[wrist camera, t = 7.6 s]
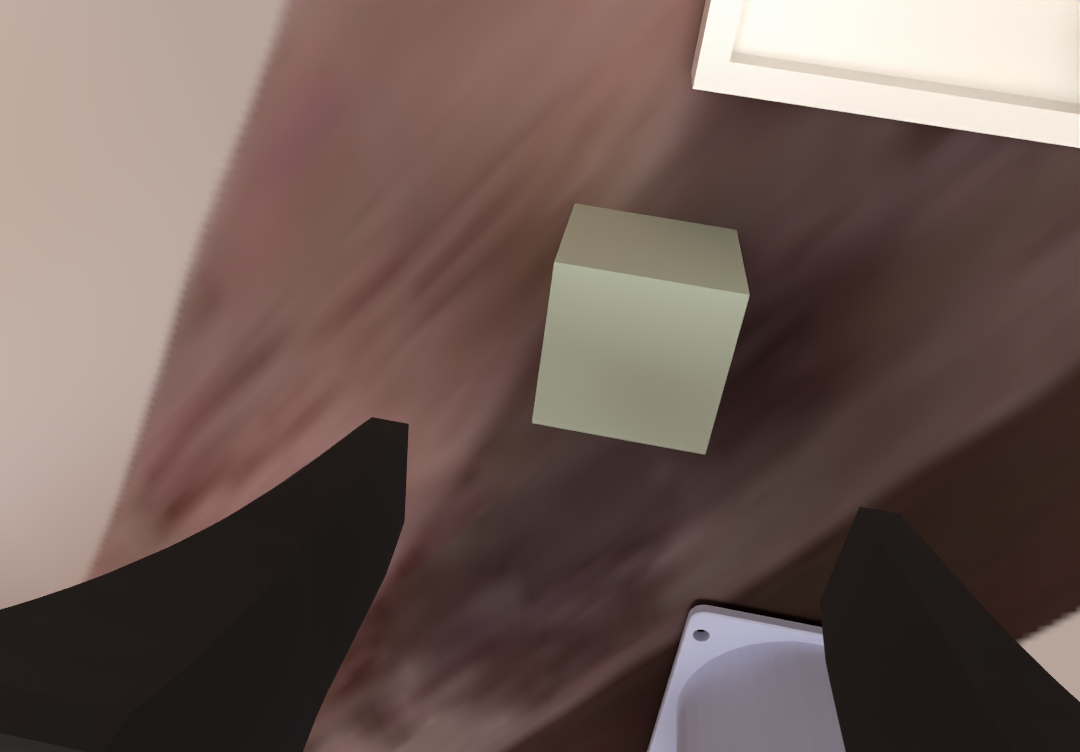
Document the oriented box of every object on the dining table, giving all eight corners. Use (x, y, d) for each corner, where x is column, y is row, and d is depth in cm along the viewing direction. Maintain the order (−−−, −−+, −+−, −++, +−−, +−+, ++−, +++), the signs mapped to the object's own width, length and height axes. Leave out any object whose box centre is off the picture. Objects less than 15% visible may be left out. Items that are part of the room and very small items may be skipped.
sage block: (700, 369, 22) (705, 455, 18) (553, 343, 22) (532, 423, 18) (736, 228, 20) (750, 295, 16) (574, 202, 20) (554, 262, 16)
